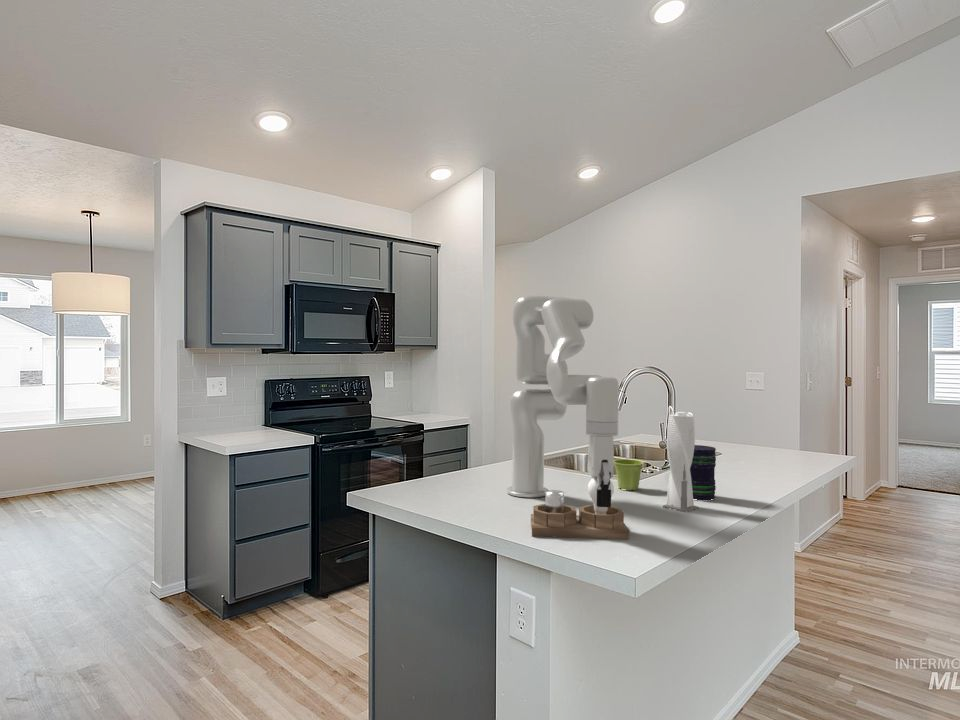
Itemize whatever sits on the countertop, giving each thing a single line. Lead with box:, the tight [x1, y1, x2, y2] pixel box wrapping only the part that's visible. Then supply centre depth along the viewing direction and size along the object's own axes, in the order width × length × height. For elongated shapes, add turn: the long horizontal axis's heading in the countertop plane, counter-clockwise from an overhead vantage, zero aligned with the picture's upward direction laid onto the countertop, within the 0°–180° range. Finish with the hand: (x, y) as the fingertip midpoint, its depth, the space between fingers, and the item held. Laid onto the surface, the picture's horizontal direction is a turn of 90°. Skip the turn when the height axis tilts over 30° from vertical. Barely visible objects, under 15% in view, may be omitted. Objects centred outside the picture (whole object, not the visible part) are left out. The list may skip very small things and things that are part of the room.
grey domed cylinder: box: [544, 489, 565, 513], centre depth 141 cm, size 4×4×7 cm
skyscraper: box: [662, 405, 700, 513], centre depth 165 cm, size 8×8×28 cm
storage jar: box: [690, 444, 717, 501], centre depth 177 cm, size 10×10×15 cm
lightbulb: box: [587, 476, 615, 514], centre depth 141 cm, size 6×6×11 cm
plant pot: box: [614, 458, 645, 491], centre depth 187 cm, size 9×9×9 cm
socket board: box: [530, 503, 630, 540], centre depth 141 cm, size 12×22×5 cm, turn 87°
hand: (601, 501), depth 140 cm, fingers open, 7 cm apart
